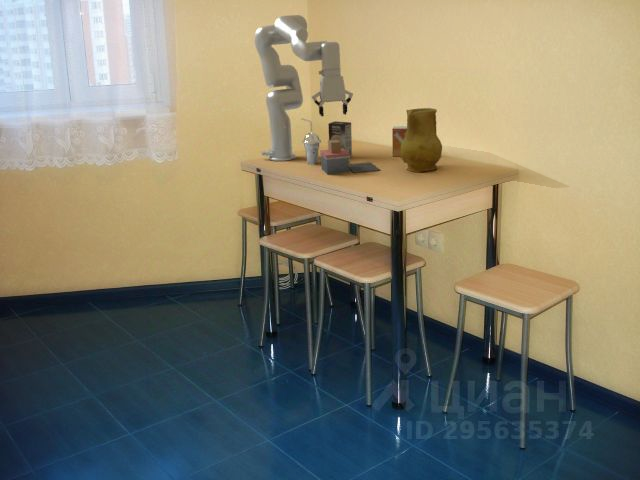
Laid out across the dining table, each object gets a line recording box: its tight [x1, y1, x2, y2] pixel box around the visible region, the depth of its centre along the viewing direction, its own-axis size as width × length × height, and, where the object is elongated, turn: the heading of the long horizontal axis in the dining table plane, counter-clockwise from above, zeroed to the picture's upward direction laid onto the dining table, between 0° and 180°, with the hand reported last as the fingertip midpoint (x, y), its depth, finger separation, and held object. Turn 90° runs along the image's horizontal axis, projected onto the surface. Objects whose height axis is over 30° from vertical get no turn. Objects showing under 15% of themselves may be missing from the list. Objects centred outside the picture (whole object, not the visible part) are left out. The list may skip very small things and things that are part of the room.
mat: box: [349, 162, 381, 174], centre depth 314 cm, size 12×16×1 cm
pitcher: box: [400, 107, 443, 173], centre depth 304 cm, size 17×19×25 cm
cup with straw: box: [301, 118, 322, 166], centre depth 326 cm, size 8×9×20 cm
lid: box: [319, 139, 350, 158], centre depth 309 cm, size 10×12×6 cm
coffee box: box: [327, 120, 353, 158], centre depth 337 cm, size 9×6×16 cm
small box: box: [391, 125, 407, 157], centre depth 335 cm, size 8×6×13 cm
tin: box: [319, 152, 351, 176], centre depth 311 cm, size 10×12×7 cm
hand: (333, 115), depth 305 cm, fingers open, 9 cm apart
